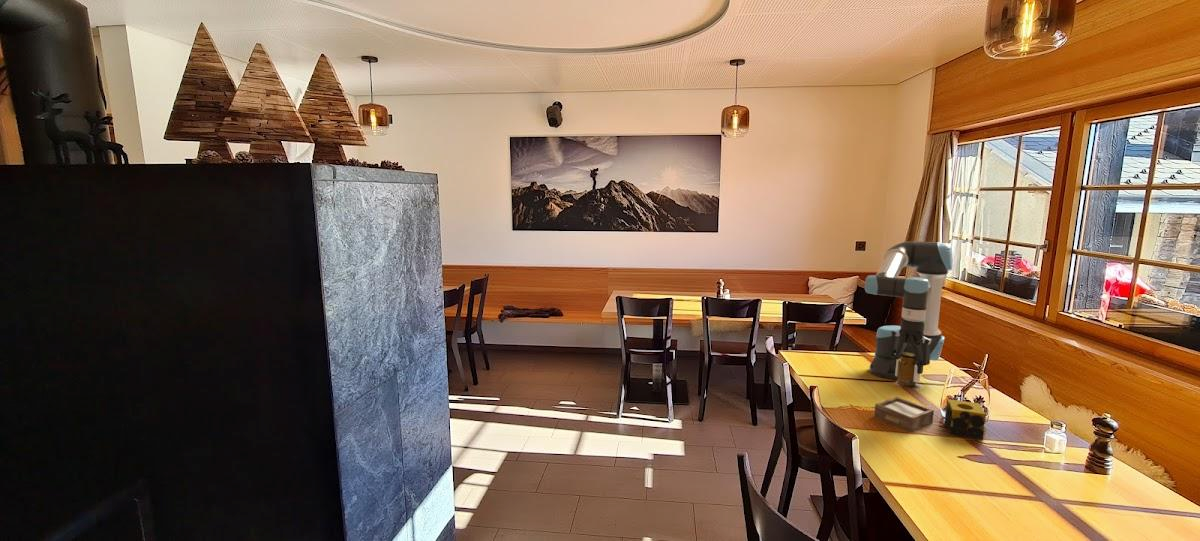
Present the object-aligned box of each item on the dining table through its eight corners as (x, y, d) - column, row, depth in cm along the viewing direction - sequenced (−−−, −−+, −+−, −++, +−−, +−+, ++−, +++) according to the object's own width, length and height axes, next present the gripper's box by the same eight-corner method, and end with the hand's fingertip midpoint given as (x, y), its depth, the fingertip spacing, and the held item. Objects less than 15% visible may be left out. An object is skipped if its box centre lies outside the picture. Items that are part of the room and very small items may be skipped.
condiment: (900, 379, 191) (903, 350, 189) (925, 386, 184) (928, 355, 183) (892, 384, 186) (895, 354, 185) (917, 391, 180) (920, 359, 178)
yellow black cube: (976, 428, 182) (979, 403, 180) (984, 440, 173) (987, 414, 171) (943, 423, 186) (946, 398, 185) (949, 435, 177) (952, 409, 176)
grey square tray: (895, 408, 198) (896, 396, 197) (932, 423, 186) (933, 410, 185) (873, 416, 191) (875, 404, 191) (910, 431, 179) (912, 418, 178)
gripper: (881, 314, 189) (876, 372, 192) (934, 326, 172) (928, 388, 176) (893, 312, 192) (888, 368, 196) (946, 323, 176) (939, 384, 179)
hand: (907, 378), depth 186 cm, fingers closed on condiment, 6 cm apart
